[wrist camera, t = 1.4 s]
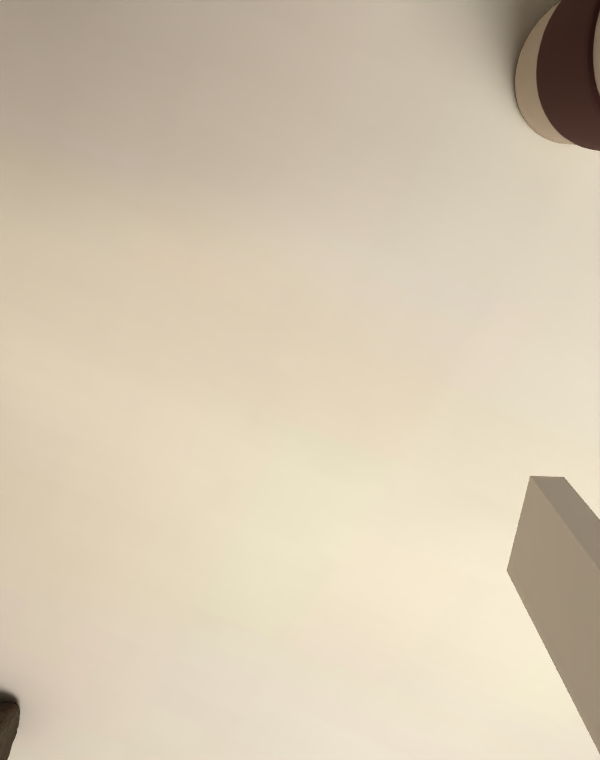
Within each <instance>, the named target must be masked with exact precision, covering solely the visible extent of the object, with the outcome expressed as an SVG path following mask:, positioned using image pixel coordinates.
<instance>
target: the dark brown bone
mask: <svg viewBox="0 0 600 760" xmlns="http://www.w3.org/2000/svg"><path fill="white" fill-rule="evenodd" d="M19 715H20V710H19V707H18V706H17V705H16V704H14V703H9V702H5V703H0V760H7V759H8V757H9V754H10V751H11V746H12V743H13V741H14V739H15V736H16V734H17V728H18V725H19Z"/></svg>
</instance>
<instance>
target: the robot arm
mask: <svg viewBox="0 0 600 760" xmlns="http://www.w3.org/2000/svg"><path fill="white" fill-rule="evenodd" d="M507 572H508V574H509V576H510V578H511V580H512V582H513V584H514V586H515V588H516V590H517V592H518V594H519V596H520V598H521V600H522V602H523V604H524V606H525V608H526V610H527V612H528V614H529V615H530V617H531V619H532V621H533V623H534V625H535V627H536V629H537V631H538V633H539V635H540V637H541V639H542V641H543V643H544V645H545V647H546V649H547V651H548V653H549V655H550V657H551V659H552V661H553V663H554V665H555V667H556V669H557V671H558V673H559V675H560V677H561V679H562V680H563V682H564V684H565V686H566V688H567V690H568V692H569V694H570V696H571V698H572V700H573V702H574V704H575V706H576V708H577V710H578V712H579V714H580V716H581V718H582V720H583V722H584V724H585V726H586V728H587V730H588V732H589V734H590V736H591V738H592V740H593V742H594V744H595V745H596V747H597V749H598V751H599V753H600V520H599V518H598V517H597V516H596V515H595V514H594V512H593V511H592V510H591V509H590V508H589V506H588V505H587V504H586V503H585V502H584V500H583V499H582V498H581V497H580V496H579V495H578V493H577V492H576V491H575V490H574V489H573V487H572V486H571V485H570V484H569V483H568V481H567V480H566V479H565V478H564V477H546V476H530V479H529V483H528V487H527V491H526V495H525V499H524V503H523V507H522V511H521V515H520V519H519V523H518V527H517V531H516V535H515V539H514V543H513V547H512V551H511V555H510V560H509V564H508V568H507Z"/></svg>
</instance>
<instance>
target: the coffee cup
mask: <svg viewBox="0 0 600 760" xmlns="http://www.w3.org/2000/svg"><path fill="white" fill-rule="evenodd" d="M515 93H516V98H517V103H518V106H519V109H520V112H521V114H522V115H523V117H524V119H525V121H526V122H527V124H528V125H529V126H530V127H531V128H532V129H533V130H534V131H535V132H536V133H538V134H539V135H541V136H542V137H544V138H546V139H548V140H550V141H553V142H557V143H562V144H575V145H578V146H581V147H584V148H588V149H592V150H598V151H600V0H561V1H559V2H558V3H557V4H556V5H555V6H554V7H552V8H551V9H550V10H549V11H548V12H547V13H546V14H545V15H544V16H543V17H542V18H541V19H540V20H539V21H538V22H537V24H536V25H535V26H534V28H533V29H532V31H531V32H530V34H529V35H528V37H527V39H526V41H525V43H524V45H523V48H522V50H521V53H520V56H519V59H518V63H517V67H516V74H515Z"/></svg>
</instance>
